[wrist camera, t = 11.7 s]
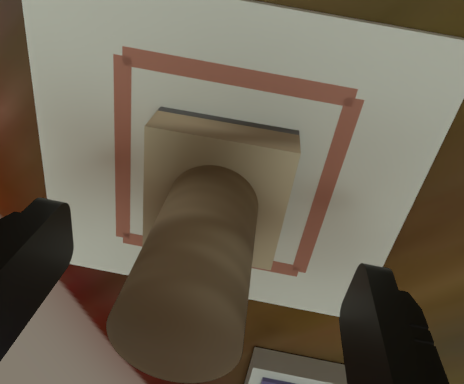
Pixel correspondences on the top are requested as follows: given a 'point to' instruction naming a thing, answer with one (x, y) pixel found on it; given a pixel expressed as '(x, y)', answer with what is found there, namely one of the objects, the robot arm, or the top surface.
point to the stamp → (201, 241)
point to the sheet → (245, 109)
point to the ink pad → (292, 369)
